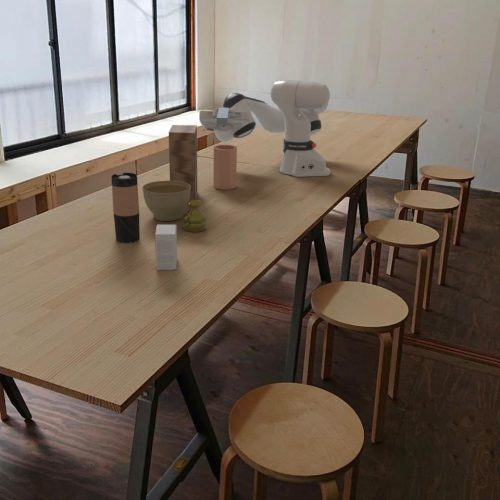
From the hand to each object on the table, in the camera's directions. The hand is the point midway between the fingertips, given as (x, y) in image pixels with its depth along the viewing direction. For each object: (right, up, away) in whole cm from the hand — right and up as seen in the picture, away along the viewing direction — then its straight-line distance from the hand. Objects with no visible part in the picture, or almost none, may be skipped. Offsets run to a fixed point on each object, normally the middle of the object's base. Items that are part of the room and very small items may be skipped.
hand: (223, 110), depth 235 cm
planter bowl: (-18, -45, -34) cm, 59 cm away
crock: (0, -30, +2) cm, 30 cm away
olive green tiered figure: (-7, -49, -43) cm, 66 cm away
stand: (-14, -36, -13) cm, 41 cm away
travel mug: (-27, -52, -53) cm, 80 cm away
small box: (-13, -60, -70) cm, 93 cm away
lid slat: (0, -5, -8) cm, 9 cm away
